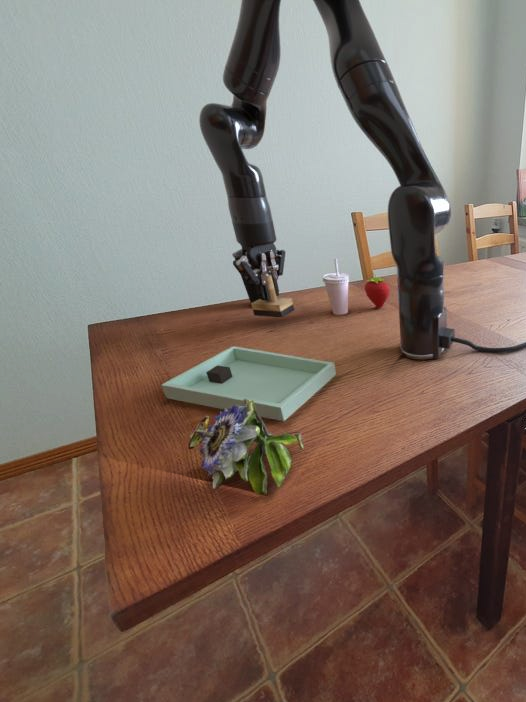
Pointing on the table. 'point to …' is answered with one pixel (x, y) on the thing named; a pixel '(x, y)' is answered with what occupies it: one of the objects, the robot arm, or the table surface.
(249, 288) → the drinking cup
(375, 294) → the strawberry
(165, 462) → the table surface
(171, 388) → the tray
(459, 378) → the table surface
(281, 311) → the brush
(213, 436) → the passion flower
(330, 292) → the smoothie
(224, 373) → the crumb
